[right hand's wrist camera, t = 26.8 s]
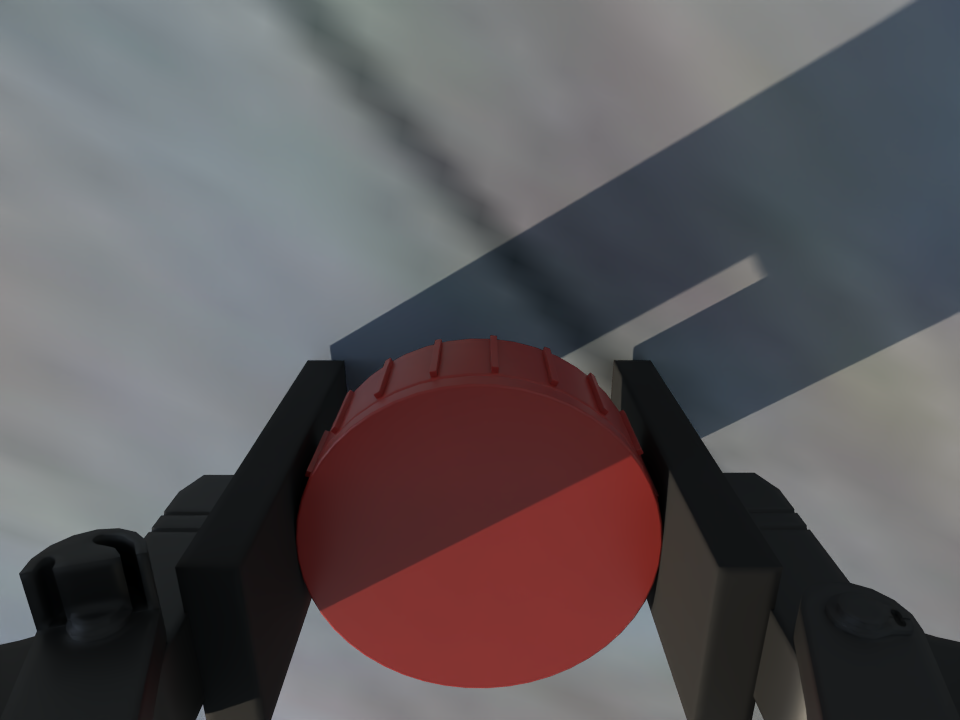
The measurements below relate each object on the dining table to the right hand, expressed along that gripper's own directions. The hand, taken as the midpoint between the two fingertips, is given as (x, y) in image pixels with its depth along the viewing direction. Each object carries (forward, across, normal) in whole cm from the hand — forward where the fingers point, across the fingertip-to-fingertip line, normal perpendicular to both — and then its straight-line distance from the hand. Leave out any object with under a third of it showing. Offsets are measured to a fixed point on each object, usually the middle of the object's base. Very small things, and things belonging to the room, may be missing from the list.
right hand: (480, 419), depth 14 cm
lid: (-4, 0, 0) cm, 4 cm away
